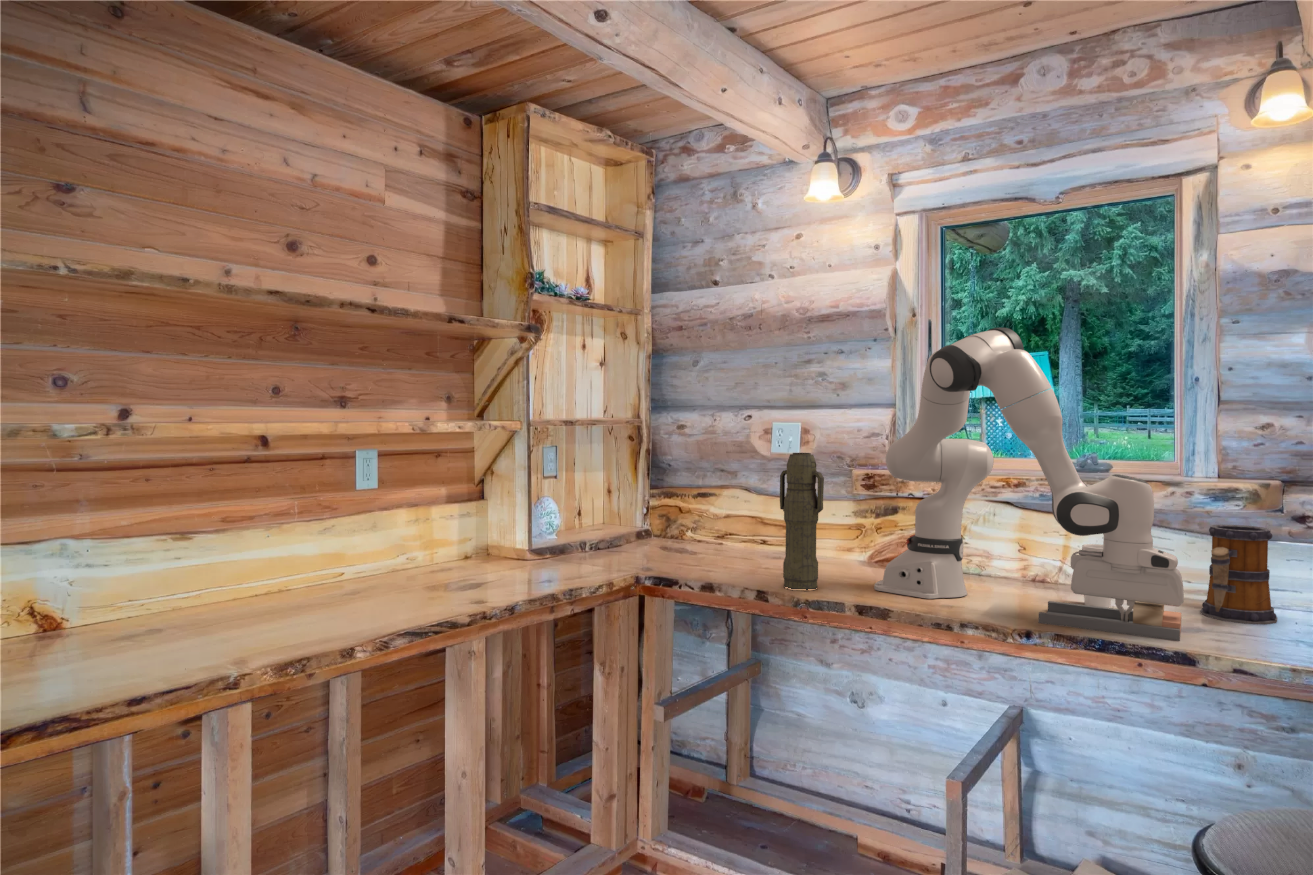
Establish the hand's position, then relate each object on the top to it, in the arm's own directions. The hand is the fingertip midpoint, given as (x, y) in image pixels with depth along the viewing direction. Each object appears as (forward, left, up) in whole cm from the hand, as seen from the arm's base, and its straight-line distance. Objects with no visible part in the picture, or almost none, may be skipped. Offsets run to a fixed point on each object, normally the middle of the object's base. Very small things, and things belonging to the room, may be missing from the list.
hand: (1124, 621), depth 171 cm
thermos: (-74, +5, -3) cm, 74 cm away
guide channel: (-3, 0, -3) cm, 4 cm away
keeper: (+4, 0, -1) cm, 4 cm away
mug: (+19, +29, -3) cm, 35 cm away
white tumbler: (-7, +19, -3) cm, 21 cm away
